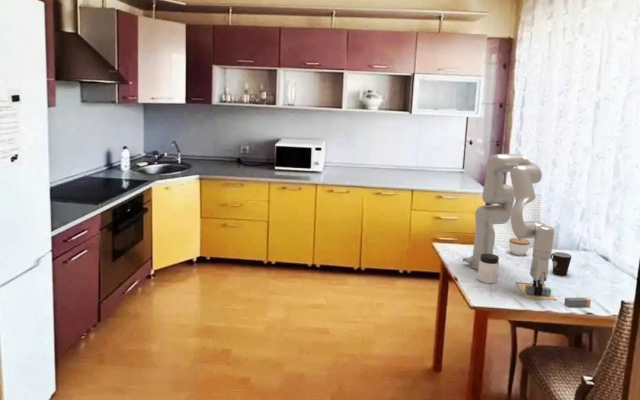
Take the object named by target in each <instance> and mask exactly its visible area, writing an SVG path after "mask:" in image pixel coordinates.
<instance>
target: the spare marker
mask: <svg viewBox="0 0 640 400" xmlns="http://www.w3.org/2000/svg"><path fill="white" fill-rule="evenodd" d="M591 300H592V299H591V298H590V299H589V298H588V297H565V298H564V301H563V302H564V303H563V304H564V306H565V307H568V308H589V307H591Z"/></svg>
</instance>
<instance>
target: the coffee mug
mask: <svg viewBox="0 0 640 400" xmlns="http://www.w3.org/2000/svg"><path fill="white" fill-rule="evenodd" d="M572 256H573V255H572V254H570V253H566V252H561V251H554V252H553V253H551V259H550V260H551V262H552V274H553V275H554V276H560V277H566V276H567V275H568V271H569V267H570V263H571V260H572Z"/></svg>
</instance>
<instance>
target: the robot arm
mask: <svg viewBox="0 0 640 400" xmlns="http://www.w3.org/2000/svg"><path fill="white" fill-rule="evenodd" d="M504 173H509V174H510V181H511V185H512V186H511V185H508V184H504V182H505V176H504ZM542 173H543V172H542V170H541V168H540V167H539V166H538V164H536V163H535V162H534V161H533V160H531V159H530V158H529V157H528V156H526V155H524V154H522V153H521V154H520V153H519V154H518V153H498V154H492V155H491V156H490V157H489V158H488V160H487V162H486V175H485V180H484V184H483V185H484V186H483V191H482V196H481V197H482V201H483V202H484V203H485V204H488V205H481V206H479V207H478V208H477V209H476V210H475V213H474V218H475V230H474V240H473V241H474V242H473V251H472V255H471V257H462V261H463V262H466V263H468V266H469V267H470V268H471V269H475V270H478V268H479V260H480V258H481V254H494V246H495V239H496V232H495V229H494V228H493V226H494V225H504V224H506V223H508V222H509V220H510V225H511V228H512V231H513V234H514V236H515V238H520V239H526V240H529V239H534V240H533V248H532V254H531V255H532V259H531V264H530V270H529V275H530V276H531V278H532V279H533V280H532V283H534V284H533V286H535V290H534V295H537V296H541V295H542V289H543V285H544V284H545V282H546V281H547V280H548V275H549V274H548V273H549V261H550V260H552V259H551V254H552V251H553V245H554V236H555V229H554V226H553V227H552V226H550V225H546V224H544V222H541V221H539V220H538V221H535V220H534V221H524V216H523V211H524V208H525V206H527V205H528V204H529V203H531V202H533V201H534V200H535V199H536V193H535V190H534V185H533V184H538V183H540V182H541V180H542V178H543V174H542Z"/></svg>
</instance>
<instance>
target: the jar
mask: <svg viewBox="0 0 640 400" xmlns="http://www.w3.org/2000/svg"><path fill="white" fill-rule="evenodd" d="M499 260H500V257H499V256H498V255H496V254H494V253H493V254H481V258H480V260H479V268H478V269H477V270H478V271H477V277H476V278H477V280H478V281H479V282H481V283H484V282H486V283H485V284H491V283H492V284H494V283H497V282H498V277H499V276H498V275H499V270H500V269H499V268H500V261H499Z"/></svg>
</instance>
